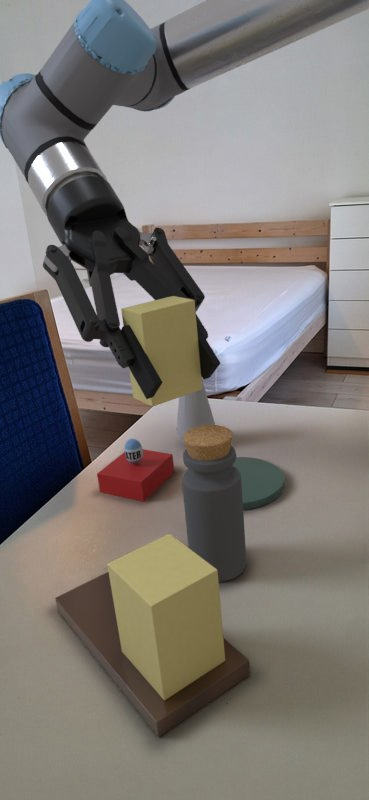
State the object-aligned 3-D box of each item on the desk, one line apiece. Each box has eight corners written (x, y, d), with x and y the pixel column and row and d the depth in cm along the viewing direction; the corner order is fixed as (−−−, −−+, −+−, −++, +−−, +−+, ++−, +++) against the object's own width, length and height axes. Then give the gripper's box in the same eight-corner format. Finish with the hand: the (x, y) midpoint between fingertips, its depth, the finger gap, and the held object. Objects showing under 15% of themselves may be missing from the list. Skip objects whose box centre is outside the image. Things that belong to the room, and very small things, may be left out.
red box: (143, 501, 75) (137, 457, 73) (100, 492, 79) (92, 449, 76) (174, 472, 82) (169, 430, 79) (132, 464, 85) (127, 424, 83)
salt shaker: (193, 431, 94) (185, 352, 89) (223, 438, 90) (217, 356, 86) (170, 446, 89) (161, 364, 85) (202, 454, 86) (194, 369, 81)
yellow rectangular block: (181, 381, 62) (173, 295, 59) (202, 389, 59) (194, 299, 56) (133, 397, 59) (120, 308, 56) (152, 407, 56) (140, 313, 53)
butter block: (179, 618, 53) (169, 533, 50) (225, 660, 48) (217, 569, 45) (121, 651, 50) (106, 563, 47) (164, 701, 45) (151, 606, 42)
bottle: (181, 558, 64) (167, 431, 58) (230, 541, 66) (221, 417, 60) (205, 590, 59) (192, 454, 53) (256, 571, 61) (249, 438, 55)
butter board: (136, 570, 63) (134, 558, 62) (250, 674, 49) (249, 660, 48) (57, 610, 58) (54, 597, 57) (158, 737, 44) (156, 722, 43)
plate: (242, 454, 85) (241, 448, 84) (304, 485, 75) (304, 478, 75) (173, 485, 79) (172, 478, 78) (231, 522, 69) (230, 514, 69)
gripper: (143, 215, 71) (243, 374, 64) (-14, 238, 61) (85, 430, 54) (163, 164, 65) (276, 334, 58) (-7, 181, 55) (105, 389, 48)
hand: (184, 380), depth 56 cm, fingers closed on yellow rectangular block, 6 cm apart
